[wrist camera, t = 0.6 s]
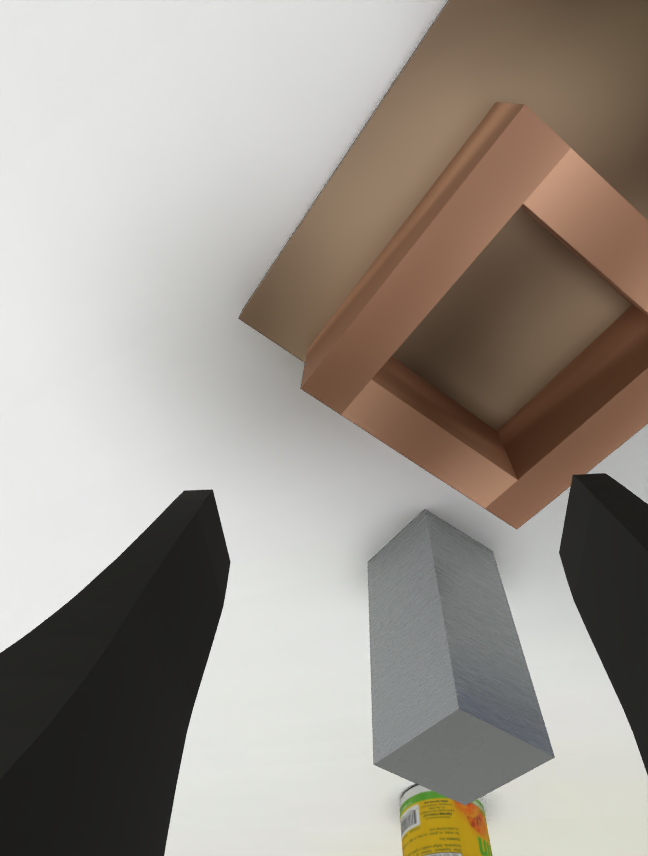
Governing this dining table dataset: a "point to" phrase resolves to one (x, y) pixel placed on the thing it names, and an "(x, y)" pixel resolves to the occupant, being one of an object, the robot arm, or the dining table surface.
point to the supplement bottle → (442, 825)
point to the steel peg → (448, 666)
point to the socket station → (486, 253)
